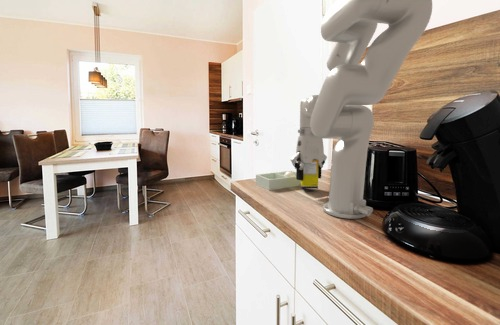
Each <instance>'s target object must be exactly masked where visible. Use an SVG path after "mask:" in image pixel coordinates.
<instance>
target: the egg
mask: <svg viewBox="0 0 500 325" xmlns="http://www.w3.org/2000/svg"><path fill="white" fill-rule="evenodd" d="M288 171H289V172H286V173H285V174H284V176H286V177H293V176H295V174H294V173H293V172H290V171H291V170H288Z"/></svg>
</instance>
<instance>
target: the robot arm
mask: <svg viewBox="0 0 500 325" xmlns="http://www.w3.org/2000/svg"><path fill="white" fill-rule="evenodd" d="M432 12H433V0H335V1H334V2H333V4H332V5H331V6H330V7H329V9H328V10H327V12H326V13H325V15H324V17H323V20H322V21H321V26H320V27H321V28H320V33H321V38H322V39H324V41H326V42H332V43H334V46H333V47H332V50H331V52H330V55H329V57H328V59H327V62H326V67H327V69H328V70H329V72H328V74H327V75H326V77H325V79H324V81H323V83H322V86H321V88H320V92H319V93H318V94H314V95H310V96H309V97H306V98H303V99H301V100H300V102H299V103H300V105H299V129H298V130H297V132H298V134H299V136H298V137H297V142H296V151H295V152H296V153H295V154H294V155H293V156H292V157H291V158H290V162H291V164H292V165H293V167H294V169H295V170H296V171H295V172H296V179H297V180H301V181H303V170H302V168H303V166H304V164H310V163H312V160H314V159H318V160H319V164H318V179H321V178H322V168H323V167H324V164H325V163H326V160H327V159H328V156H327V155H326V154H325V151H324V150H325V149H324V147H325V146H324V139H337V142H336V143H335V144H334V146H333V149H332V152H331V160H330V161H331V162H330V164H331V165H330V178H329V192H328V201H327V202H325V203H324V204H323V205H322V210H323V211H324V212H325V213H326V214H327V215H330V216H333V217H335V218H341V219H349V220H353V219H354V220H355V219H356V220H357V219H358V220H359V219H362V218H365V217H371V215H372V213H373V211H374V208H373V207H371V206H368V205H367V200H366V199H364V190H365V181H366V167H367V158H368V149H369V143H370V139H371V137H372V136H371V135H372V132H373V129H374V124H375V116H374V113H373V111H372V110H371V109H370V108H369V107H367V106H371V105H375V104H378V103H379V102H381V101H382V100H383V98H384V97H385V95H386V94H387V92H388V90H389V89H390V86H391V85H392V83H393V81H394V79H395V78H396V76H397V75H398V72H399V71H400V69H401V67H402V65H403V64H404V61H405V60H406V58H407V56H408V55H409V54H410V52H411V51H412V50H413V48H414V46H415V45H416V43H417V42H418V41H419V40H420V38H421V37H422V36H423V34H424V32H425V30H426V28H427V27H428V24H429V23H430V20H431V16H432ZM378 24H385V25H388V27H387V28H386V29H385V30H384V31H382V32H381V33H380V34H379V35H378V36H377V37H376V38H375V39H374V40H373V41H372V43H371V40H372V38H373V36H374V35H375V32H376V30H377V27H378ZM370 43H371V44H370ZM369 44H370V45H369ZM367 47H368V49H367ZM365 52H366V53H365ZM364 54H365V56H364V57H363V55H364ZM362 57H363V59H362ZM361 60H362V61H361ZM360 61H361V62H360ZM359 63H360V64H359Z"/></svg>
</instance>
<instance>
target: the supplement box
mask: <svg viewBox="0 0 500 325" xmlns="http://www.w3.org/2000/svg"><path fill="white" fill-rule="evenodd" d="M318 164H319V160H318V159H314V160H312V163H310V164H304V166H303V168H302V170H303V181H301V186H300V187H301V189H319V178H318Z"/></svg>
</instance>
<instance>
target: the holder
mask: <svg viewBox="0 0 500 325" xmlns="http://www.w3.org/2000/svg"><path fill="white" fill-rule="evenodd" d="M289 171H290V172H293V173H294V174H295V176H293V177H286V176H284V174H285V173H286V172H289ZM255 185H257V186H259V187H261V188H263V189H265V190H267V191H274V190H275V191H276V190H282V189H287V188H295V187H301V180H297V179H296V171H293V170H287V171H279V172H278V171H277V172H269V173H268V172H267V173H259V174H255Z"/></svg>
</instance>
